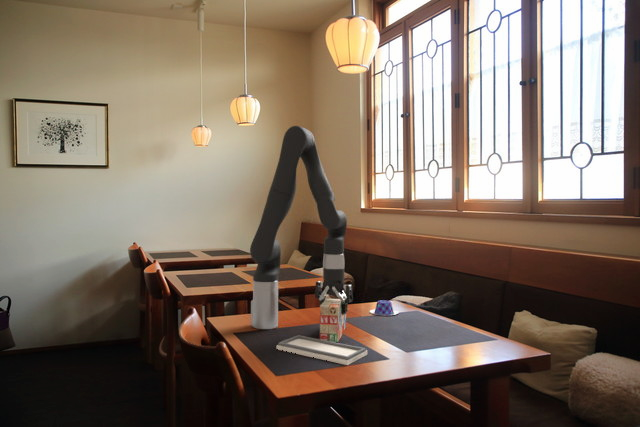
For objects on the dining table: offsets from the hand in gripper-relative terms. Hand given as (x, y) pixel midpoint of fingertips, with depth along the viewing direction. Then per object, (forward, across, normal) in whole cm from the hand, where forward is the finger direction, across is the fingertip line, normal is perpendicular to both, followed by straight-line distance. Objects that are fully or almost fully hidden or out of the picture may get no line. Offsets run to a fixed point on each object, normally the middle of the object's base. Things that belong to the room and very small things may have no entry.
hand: (333, 312), depth 174 cm
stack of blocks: (+8, 0, 0) cm, 8 cm away
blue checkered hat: (+8, 0, +40) cm, 41 cm away
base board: (+8, +8, -20) cm, 22 cm away
